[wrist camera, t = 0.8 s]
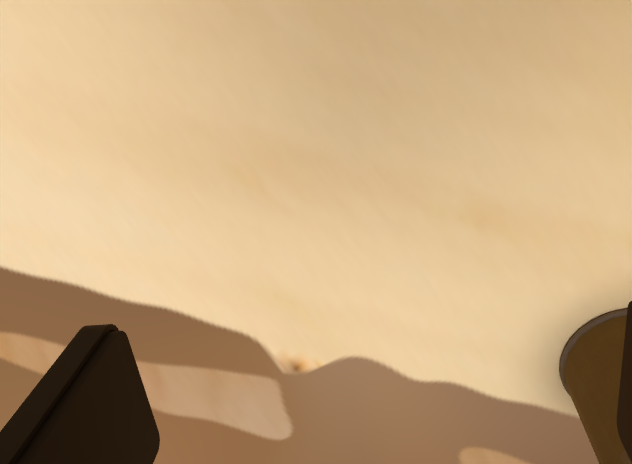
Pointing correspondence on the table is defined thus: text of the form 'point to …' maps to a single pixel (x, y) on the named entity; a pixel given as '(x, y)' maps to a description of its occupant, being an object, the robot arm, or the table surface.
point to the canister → (597, 382)
